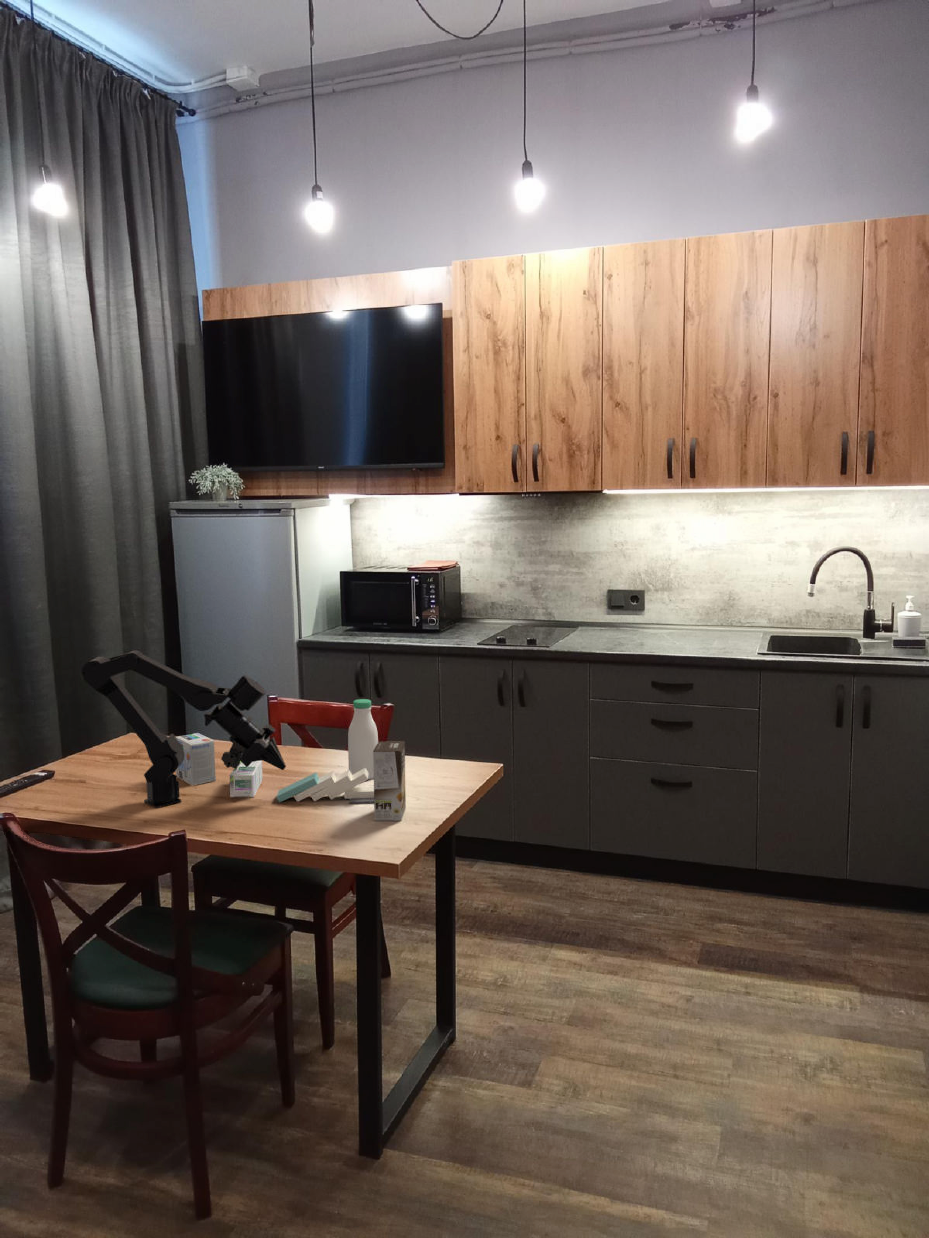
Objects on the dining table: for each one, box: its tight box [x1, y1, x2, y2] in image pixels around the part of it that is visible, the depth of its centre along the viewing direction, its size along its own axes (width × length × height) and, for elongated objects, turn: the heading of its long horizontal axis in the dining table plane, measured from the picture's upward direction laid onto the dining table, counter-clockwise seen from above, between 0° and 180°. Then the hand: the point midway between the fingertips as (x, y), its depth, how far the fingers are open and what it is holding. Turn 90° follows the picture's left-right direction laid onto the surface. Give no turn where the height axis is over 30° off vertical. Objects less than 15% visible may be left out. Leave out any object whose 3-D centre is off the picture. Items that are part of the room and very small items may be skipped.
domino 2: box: [293, 770, 337, 803], centre depth 228 cm, size 2×5×10 cm
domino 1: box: [275, 772, 320, 803], centre depth 228 cm, size 2×5×10 cm
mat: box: [349, 798, 374, 805], centre depth 229 cm, size 10×10×1 cm
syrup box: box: [229, 760, 263, 798], centre depth 236 cm, size 6×6×14 cm
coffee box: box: [373, 740, 407, 822], centre depth 215 cm, size 9×6×16 cm
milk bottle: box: [347, 698, 379, 781], centre depth 245 cm, size 8×8×20 cm
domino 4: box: [327, 768, 369, 800], centre depth 228 cm, size 2×5×10 cm
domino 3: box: [310, 769, 352, 802], centre depth 228 cm, size 2×5×10 cm
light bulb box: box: [175, 732, 217, 786], centre depth 244 cm, size 11×7×11 cm, turn 38°
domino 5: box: [344, 784, 374, 800], centre depth 229 cm, size 2×5×10 cm
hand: (284, 768), depth 227 cm, fingers closed
